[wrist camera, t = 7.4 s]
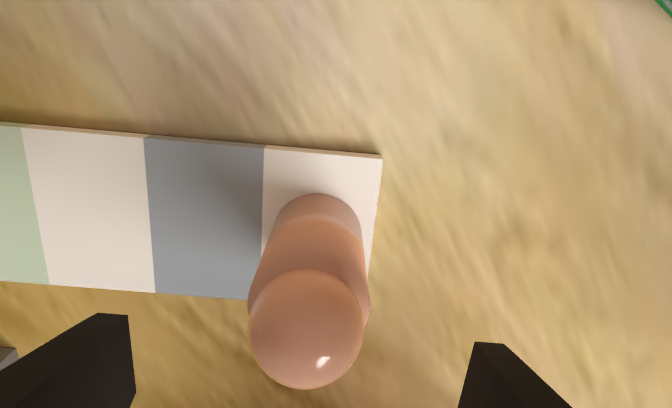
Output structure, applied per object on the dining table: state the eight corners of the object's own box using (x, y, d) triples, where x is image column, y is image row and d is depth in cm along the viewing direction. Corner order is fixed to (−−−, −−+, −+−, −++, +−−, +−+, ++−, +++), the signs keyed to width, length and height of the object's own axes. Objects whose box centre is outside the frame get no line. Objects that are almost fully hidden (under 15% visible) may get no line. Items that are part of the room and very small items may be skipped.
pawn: (366, 197, 14) (386, 310, 8) (357, 277, 16) (367, 429, 9) (274, 189, 14) (225, 298, 8) (271, 270, 15) (226, 419, 9)
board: (381, 154, 14) (383, 159, 14) (362, 300, 17) (363, 309, 16) (-207, 103, 14) (-230, 105, 13) (-149, 259, 16) (-166, 267, 16)
